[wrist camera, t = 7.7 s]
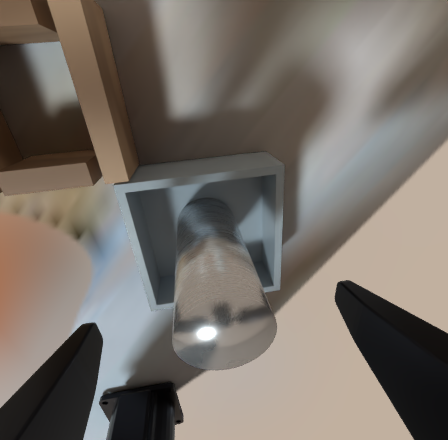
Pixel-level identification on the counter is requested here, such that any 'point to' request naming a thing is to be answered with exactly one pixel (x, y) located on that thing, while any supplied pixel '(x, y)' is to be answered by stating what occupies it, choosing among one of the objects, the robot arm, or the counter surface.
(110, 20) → the counter surface
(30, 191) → the socket block
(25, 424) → the robot arm
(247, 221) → the tray
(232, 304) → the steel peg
